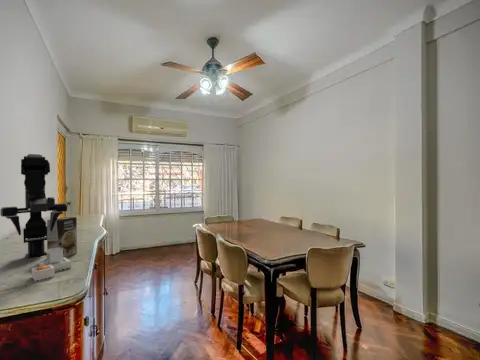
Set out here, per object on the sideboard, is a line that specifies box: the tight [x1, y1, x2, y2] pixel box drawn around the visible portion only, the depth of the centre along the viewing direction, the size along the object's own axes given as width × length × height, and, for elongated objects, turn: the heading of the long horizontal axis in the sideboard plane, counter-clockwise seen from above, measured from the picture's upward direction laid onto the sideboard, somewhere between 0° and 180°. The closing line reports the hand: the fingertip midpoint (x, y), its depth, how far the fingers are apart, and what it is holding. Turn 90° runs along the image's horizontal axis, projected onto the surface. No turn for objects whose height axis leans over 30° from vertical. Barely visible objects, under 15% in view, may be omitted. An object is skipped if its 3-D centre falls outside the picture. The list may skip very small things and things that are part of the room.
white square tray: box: [38, 257, 72, 272], centre depth 96 cm, size 8×8×2 cm
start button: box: [36, 265, 49, 271], centre depth 87 cm, size 3×3×2 cm
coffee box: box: [46, 216, 78, 258], centre depth 111 cm, size 9×6×16 cm
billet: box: [46, 247, 63, 265], centre depth 96 cm, size 4×4×6 cm
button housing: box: [31, 264, 56, 282], centre depth 87 cm, size 5×5×3 cm
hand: (36, 233), depth 96 cm, fingers open, 9 cm apart
